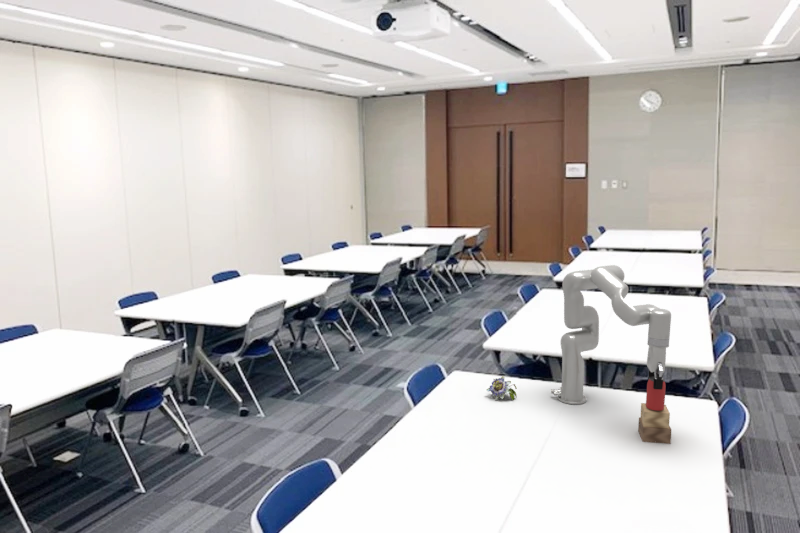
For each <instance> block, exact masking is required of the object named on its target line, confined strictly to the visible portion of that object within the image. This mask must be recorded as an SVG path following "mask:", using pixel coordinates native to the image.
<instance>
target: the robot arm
mask: <svg viewBox="0 0 800 533" xmlns="http://www.w3.org/2000/svg"><path fill="white" fill-rule="evenodd" d="M624 280H625V272H624V270H623V269H622V268H621V267H620V266H619V265H615V264H612V265H611V264H610V265H604V266H603V265H602V266H597V267H595V268H593V269H586V270H585V269H584V270H583V269H582V270H576V271H572V272H569V273H567V274H566V275H565V276H564V277H563V279H562V291H563V319H564V320H563V321H564V325H565V327H566V328H568V329H571V330H574V331H568V332H566V333H564V334H563V335H562V336H561V338H560V349H561V358H562V359H561V360H562V361H561V362H562V363H561V387H560V388H558V389H554V388H553V389H550V394H553V395H554V396H557V400H559V402H561V403H563V404H566V405H567V404H569V405H583V404H586V402H587V397H586V396H585V395H584V382H585V381H584V380H585V376H584V375H585V360H584V358H583V356H582V354H581V353H584V352H588V351H592V350H595V349H596V348H597V347H598V345H599V340H600V319H599V314H598V311H597V309H596V308H595V307H593V306H591V305H585V297H584V295H583V293H582V292H581V291H586V290H587V291H588V290H596V289H599V290H600V291H601V292H602V293H603V294H605V295H606V297H608V298H609V299H610V300H611V307H612V310H613V312H614V314H615V315H616V316H617V317H618V318H619V319H620V320H621V321H622V322H624V323H625V324H627V325H628V326H632V327H635V326H643V325H648V331H647V332H648V334H647V346H648V350H647V356H646V366H647V369H648V376H647V379H648V380H649V377H653V376H655V378H654V384H653V388H654V389H660V390H662V388H663V379H664V373H665V370H666V356H667V352H666V351H667V349H668V348H669V347H670V336H671V325H672V324H671V323H672V322H671V321H672V313H671V311H670V310H668V309H664V308H660V307H657V306H656V305H654V304H649V303H648V304H639V305H633V306H632V305H631V304H630V303H629V302H627V301H626V300H625V298H626V297H627V295H628V294H629V286H628V285H627V283H625V282H624ZM576 329H579V330H576Z"/></svg>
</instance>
